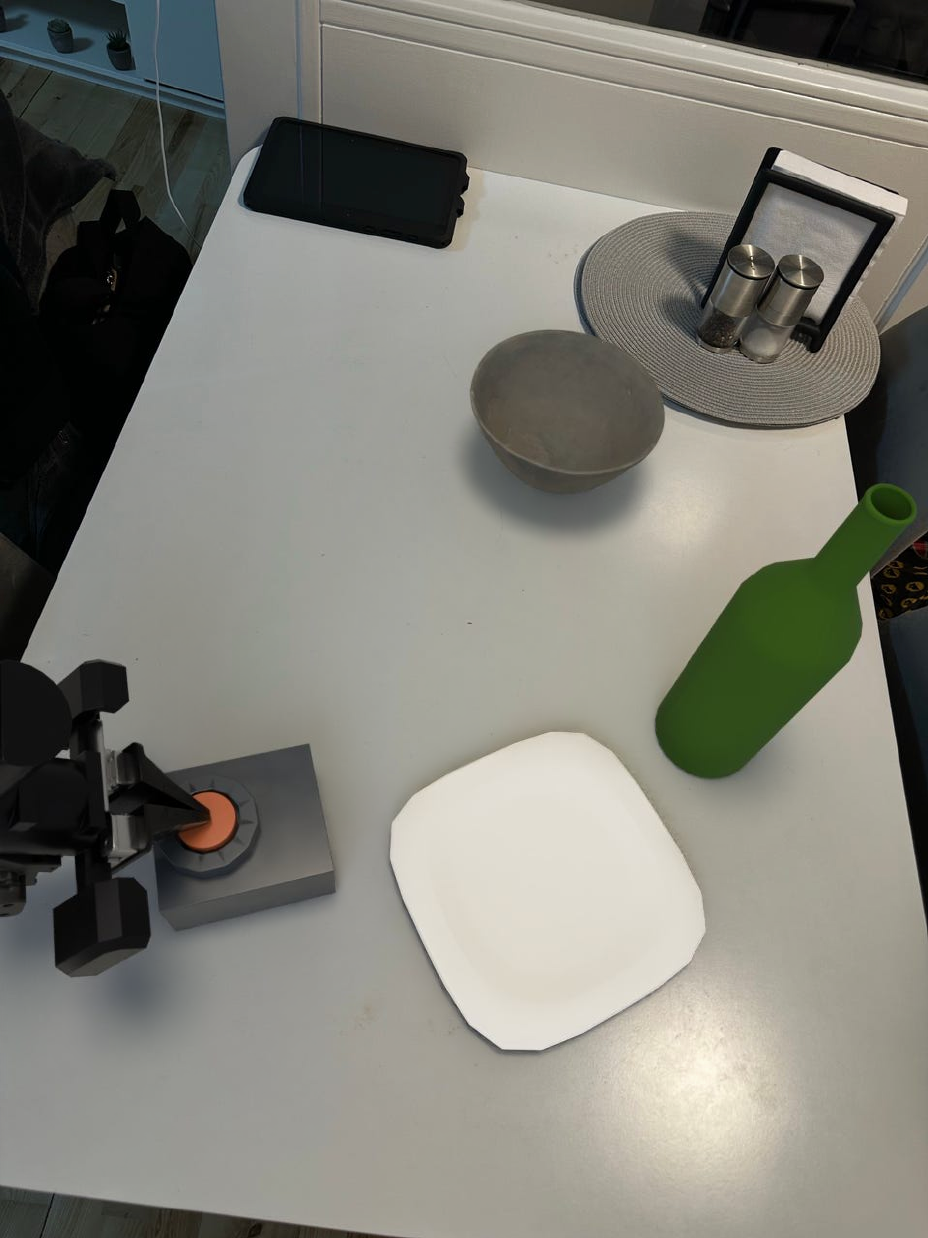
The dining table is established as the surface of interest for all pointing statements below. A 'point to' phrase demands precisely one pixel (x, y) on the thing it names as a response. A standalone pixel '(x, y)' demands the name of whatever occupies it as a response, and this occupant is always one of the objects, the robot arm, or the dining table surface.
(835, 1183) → the dining table surface
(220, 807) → the button
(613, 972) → the plate
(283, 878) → the control block
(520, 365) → the bowl
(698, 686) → the wine bottle
